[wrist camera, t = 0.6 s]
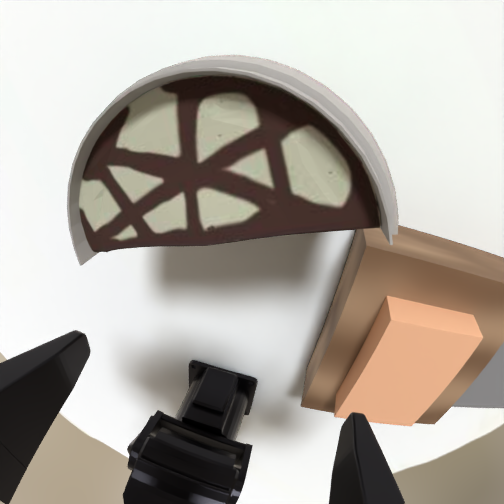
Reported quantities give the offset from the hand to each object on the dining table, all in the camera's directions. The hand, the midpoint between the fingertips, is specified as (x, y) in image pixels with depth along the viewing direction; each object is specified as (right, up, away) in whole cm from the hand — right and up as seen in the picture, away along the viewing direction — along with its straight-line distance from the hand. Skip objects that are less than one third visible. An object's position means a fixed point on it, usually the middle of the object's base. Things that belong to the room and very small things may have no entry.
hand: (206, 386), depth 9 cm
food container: (+2, +11, +8) cm, 14 cm away
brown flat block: (+13, -1, +12) cm, 17 cm away
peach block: (+11, -3, +8) cm, 14 cm away
